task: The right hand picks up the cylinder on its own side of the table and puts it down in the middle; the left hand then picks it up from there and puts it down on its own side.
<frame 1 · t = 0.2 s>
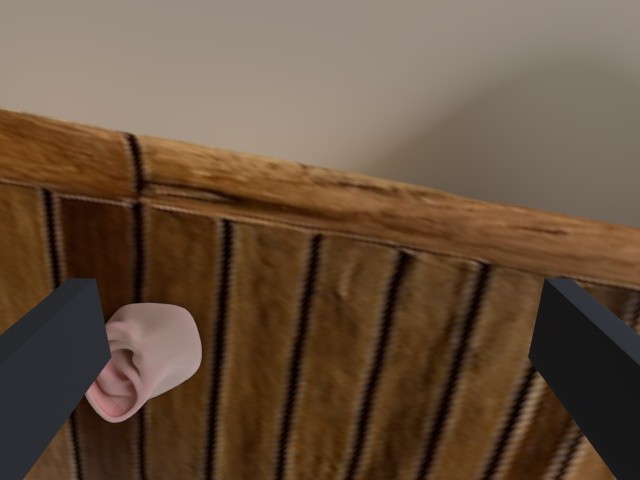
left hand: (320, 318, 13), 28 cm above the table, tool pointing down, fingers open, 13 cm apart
anatomical model: (147, 349, 47), on the table
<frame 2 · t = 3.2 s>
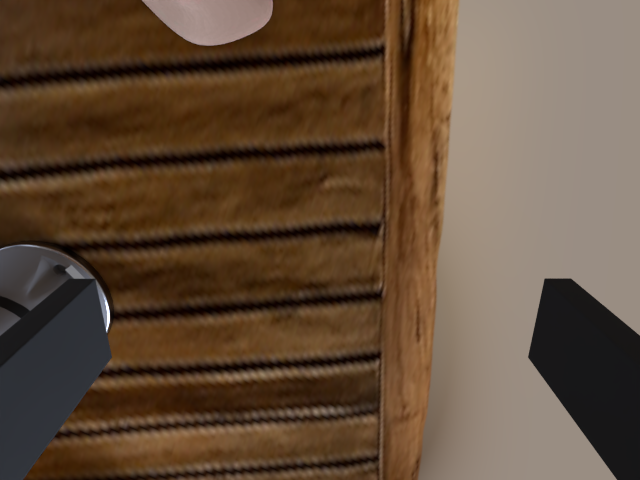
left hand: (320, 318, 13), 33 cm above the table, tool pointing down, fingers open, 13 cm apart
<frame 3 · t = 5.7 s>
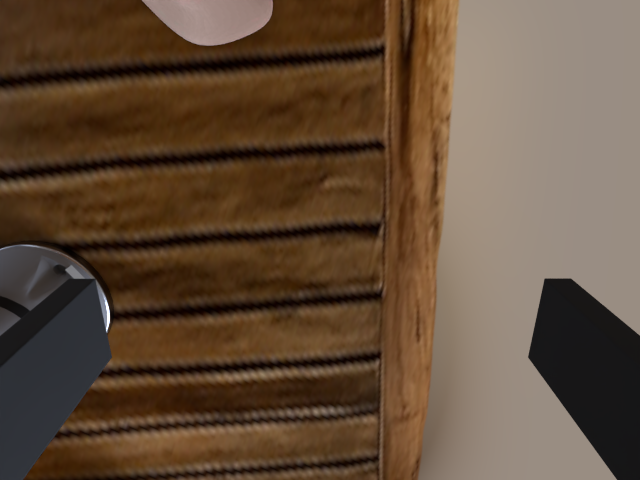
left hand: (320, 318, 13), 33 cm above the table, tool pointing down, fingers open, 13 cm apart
when the right hand's fingers open (3 cm above the table, at t = 8.5 s): cylinder drops 1 cm, on the table.
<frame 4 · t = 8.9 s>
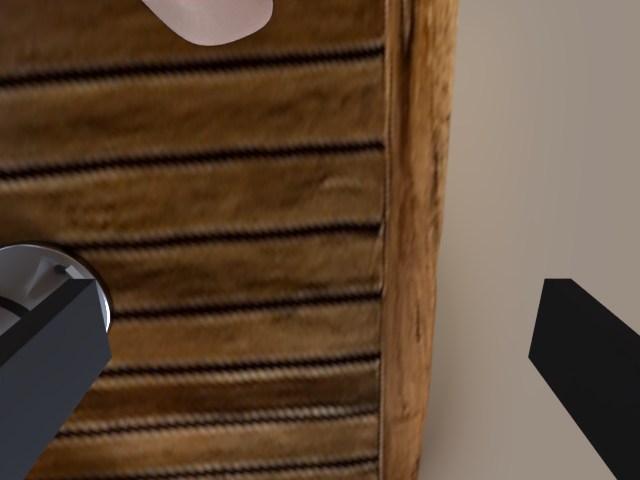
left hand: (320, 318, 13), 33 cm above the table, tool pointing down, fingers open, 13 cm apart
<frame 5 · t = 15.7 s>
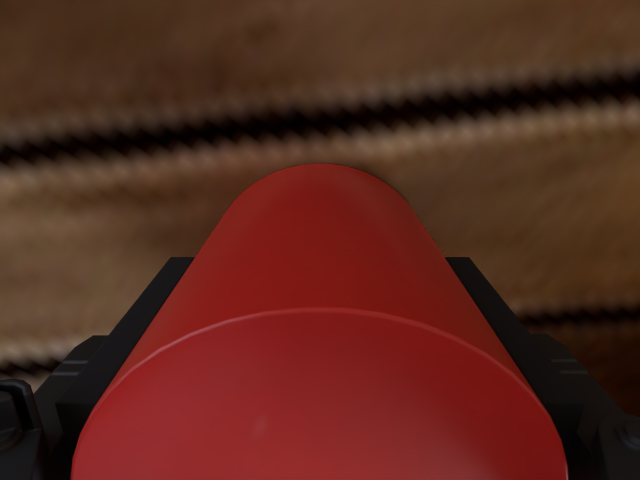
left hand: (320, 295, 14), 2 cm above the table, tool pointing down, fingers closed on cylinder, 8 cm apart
cylinder: (320, 271, 16), on the table, touching left hand
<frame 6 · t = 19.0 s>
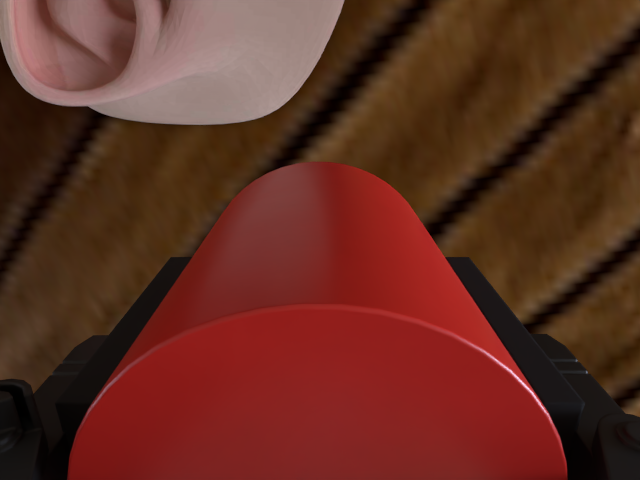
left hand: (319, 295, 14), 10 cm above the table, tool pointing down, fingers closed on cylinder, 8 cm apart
anatomical model: (195, 1, 20), on the table
cylinder: (319, 270, 16), point 8 cm above the table, touching left hand
when the left hand's fingers open (3 cm above the table, at t = 22.3 s): cylinder drops 1 cm, on the table.
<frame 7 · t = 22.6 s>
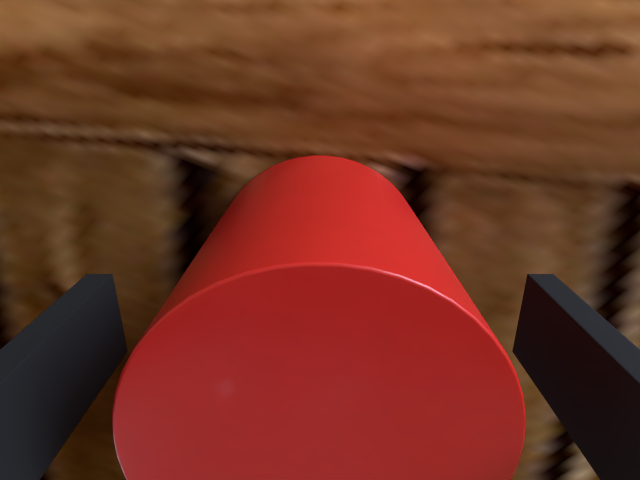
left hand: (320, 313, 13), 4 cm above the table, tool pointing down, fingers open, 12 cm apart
cylinder: (319, 255, 17), on the table
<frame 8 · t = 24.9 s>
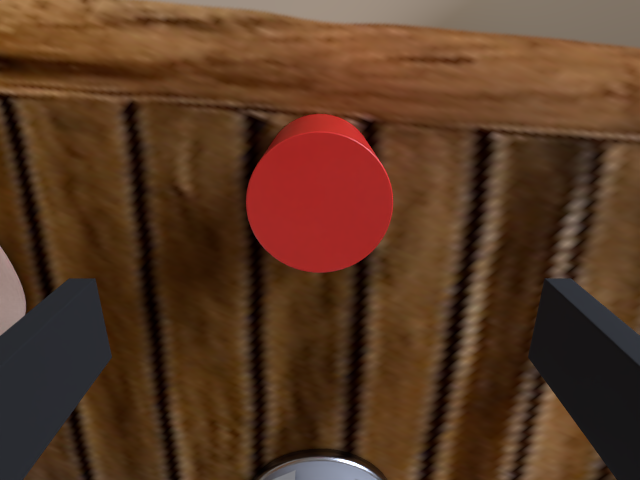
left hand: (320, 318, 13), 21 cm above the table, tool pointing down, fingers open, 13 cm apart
cylinder: (319, 169, 32), on the table
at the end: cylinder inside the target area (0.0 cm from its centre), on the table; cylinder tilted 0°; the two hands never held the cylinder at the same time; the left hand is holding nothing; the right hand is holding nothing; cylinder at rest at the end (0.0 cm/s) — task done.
